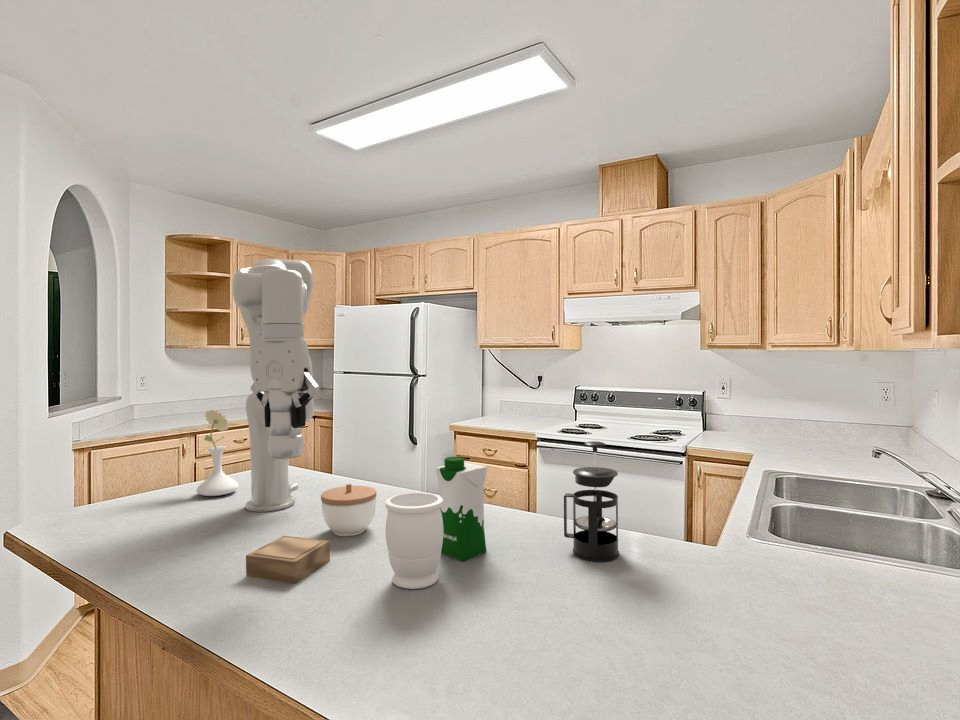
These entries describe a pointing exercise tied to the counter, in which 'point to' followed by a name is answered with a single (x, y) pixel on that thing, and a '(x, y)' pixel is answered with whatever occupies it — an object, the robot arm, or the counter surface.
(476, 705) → the counter surface
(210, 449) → the flower in vase
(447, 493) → the milk carton
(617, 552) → the french press
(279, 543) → the base slab
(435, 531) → the jar
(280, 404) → the plastic bottle
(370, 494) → the lidded bowl
